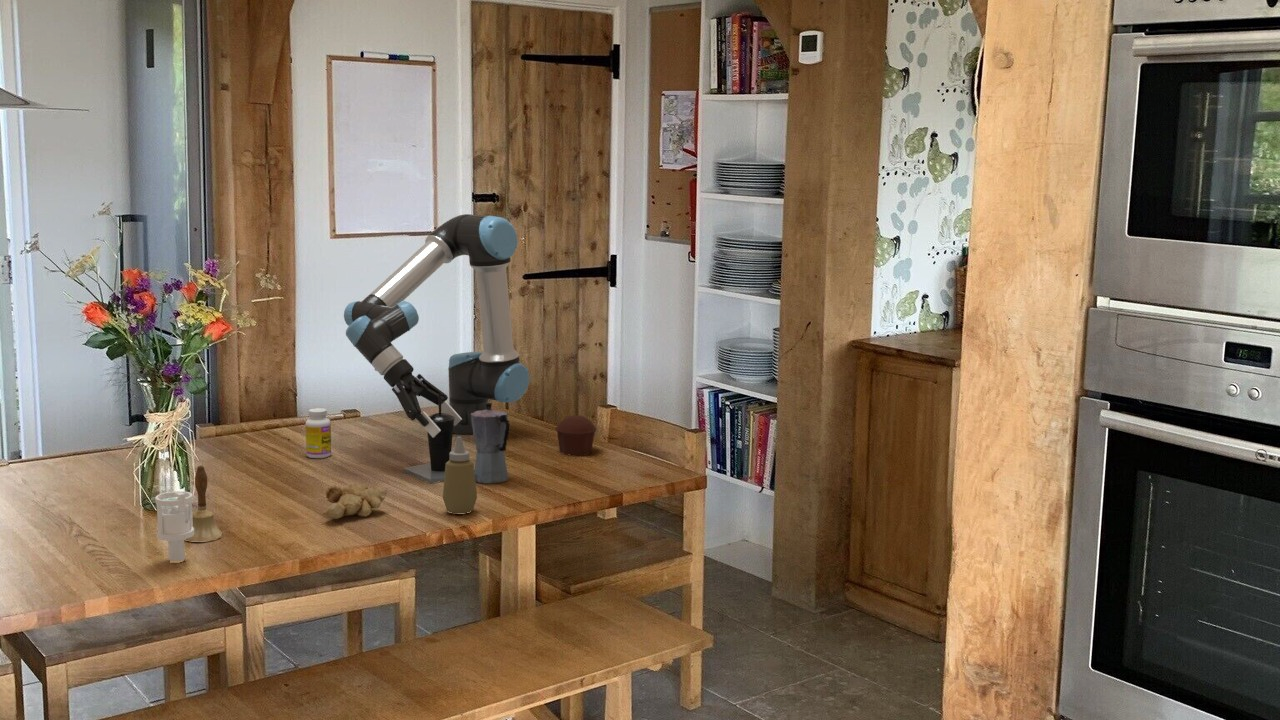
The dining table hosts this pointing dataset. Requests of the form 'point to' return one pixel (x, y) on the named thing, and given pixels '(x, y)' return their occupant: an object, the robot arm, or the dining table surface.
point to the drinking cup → (441, 440)
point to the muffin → (575, 435)
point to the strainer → (175, 521)
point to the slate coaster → (425, 473)
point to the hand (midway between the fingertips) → (447, 428)
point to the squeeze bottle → (459, 481)
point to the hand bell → (203, 512)
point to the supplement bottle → (318, 434)
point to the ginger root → (353, 500)
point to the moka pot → (490, 444)
